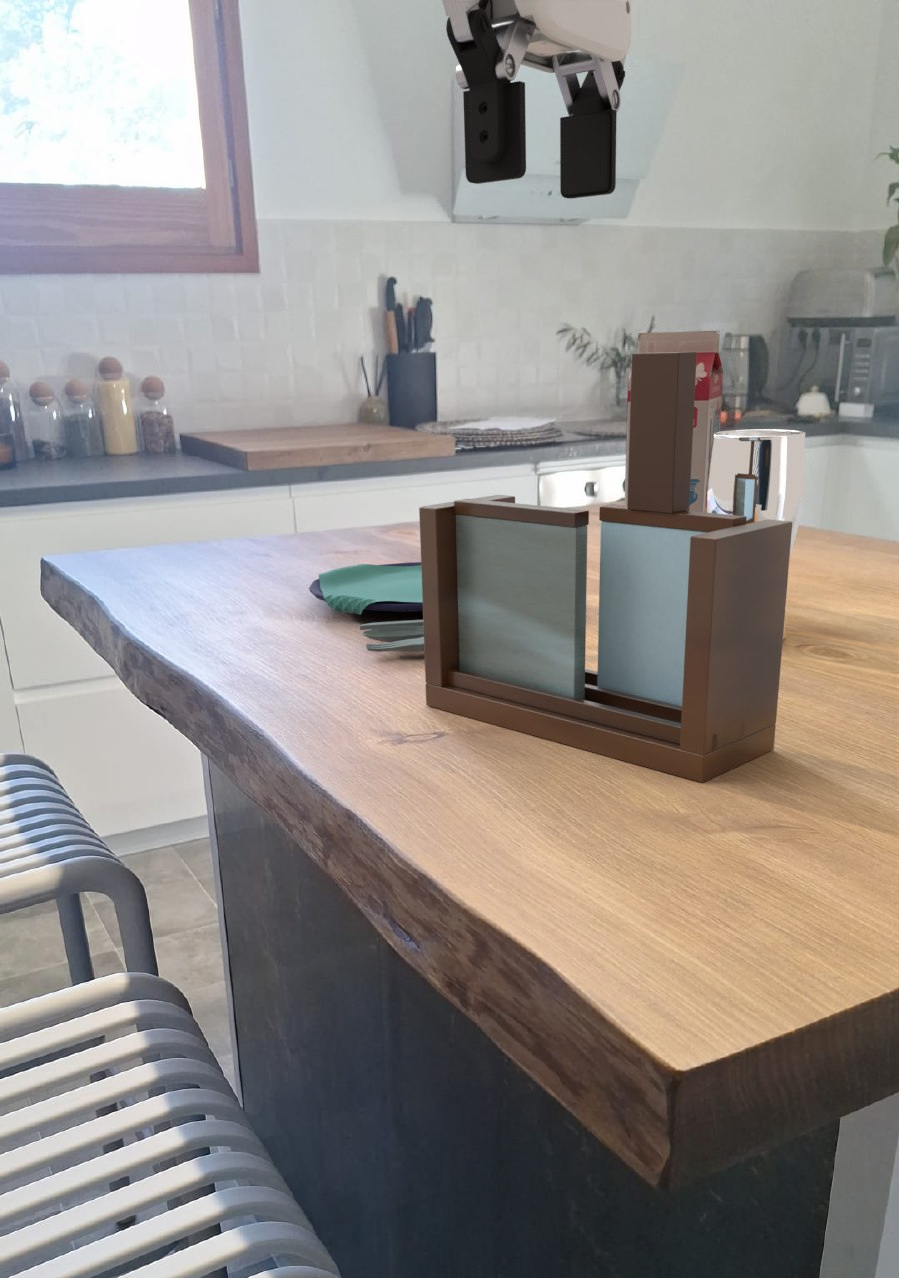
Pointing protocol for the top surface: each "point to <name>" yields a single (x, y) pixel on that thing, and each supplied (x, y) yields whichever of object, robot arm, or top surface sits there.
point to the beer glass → (757, 476)
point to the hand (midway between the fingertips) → (544, 188)
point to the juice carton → (704, 403)
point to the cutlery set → (377, 600)
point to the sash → (652, 536)
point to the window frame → (556, 636)
